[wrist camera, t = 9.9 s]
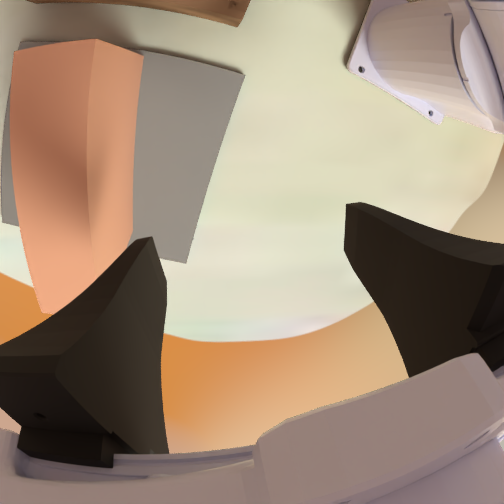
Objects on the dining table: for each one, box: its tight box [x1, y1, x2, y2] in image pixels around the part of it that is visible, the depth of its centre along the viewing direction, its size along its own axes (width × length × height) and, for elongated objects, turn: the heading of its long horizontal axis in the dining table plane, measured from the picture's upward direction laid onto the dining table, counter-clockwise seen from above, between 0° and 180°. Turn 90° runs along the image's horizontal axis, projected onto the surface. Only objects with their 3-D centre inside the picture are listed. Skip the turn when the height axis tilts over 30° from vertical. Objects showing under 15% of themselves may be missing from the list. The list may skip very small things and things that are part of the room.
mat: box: [1, 42, 245, 263], centre depth 17 cm, size 16×14×1 cm
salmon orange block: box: [10, 39, 144, 314], centre depth 13 cm, size 4×12×9 cm, turn 170°
